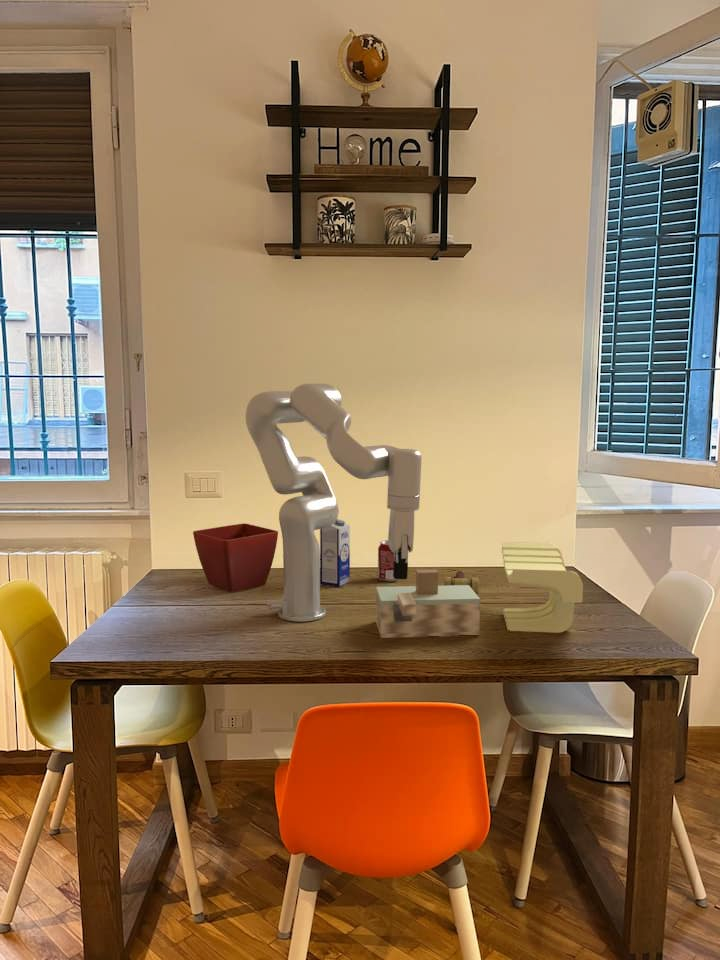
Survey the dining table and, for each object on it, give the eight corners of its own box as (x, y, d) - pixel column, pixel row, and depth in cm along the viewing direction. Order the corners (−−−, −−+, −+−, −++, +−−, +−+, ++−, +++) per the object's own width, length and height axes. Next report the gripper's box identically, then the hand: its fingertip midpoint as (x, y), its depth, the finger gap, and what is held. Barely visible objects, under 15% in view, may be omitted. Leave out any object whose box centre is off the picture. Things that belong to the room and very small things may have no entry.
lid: (381, 605, 169) (381, 578, 168) (376, 591, 181) (376, 565, 180) (480, 603, 171) (480, 576, 170) (468, 589, 183) (469, 564, 182)
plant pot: (192, 584, 216) (191, 530, 214) (245, 573, 229) (244, 522, 227) (226, 598, 202) (224, 540, 200) (280, 585, 215) (280, 531, 213)
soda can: (400, 582, 219) (400, 544, 217) (378, 582, 219) (378, 544, 217) (398, 576, 225) (399, 539, 224) (377, 576, 225) (377, 539, 224)
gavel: (444, 565, 228) (475, 566, 227) (444, 579, 229) (475, 580, 227) (444, 578, 208) (478, 579, 206) (444, 593, 208) (478, 594, 207)
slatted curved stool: (580, 645, 165) (583, 571, 163) (511, 642, 167) (513, 569, 165) (559, 606, 195) (561, 543, 193) (500, 604, 197) (502, 541, 195)
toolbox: (382, 642, 167) (382, 604, 166) (376, 621, 182) (376, 586, 181) (482, 639, 169) (483, 602, 168) (467, 619, 184) (468, 585, 183)
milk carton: (331, 579, 222) (330, 516, 220) (350, 581, 219) (350, 518, 217) (319, 584, 216) (319, 520, 214) (339, 587, 213) (339, 522, 211)
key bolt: (402, 615, 157) (403, 604, 157) (397, 603, 166) (397, 593, 166) (416, 615, 157) (416, 604, 157) (410, 603, 166) (410, 592, 166)
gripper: (383, 496, 172) (381, 569, 175) (391, 507, 157) (388, 587, 160) (414, 496, 172) (411, 569, 175) (424, 508, 158) (420, 587, 160)
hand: (400, 578), depth 168 cm, fingers closed
